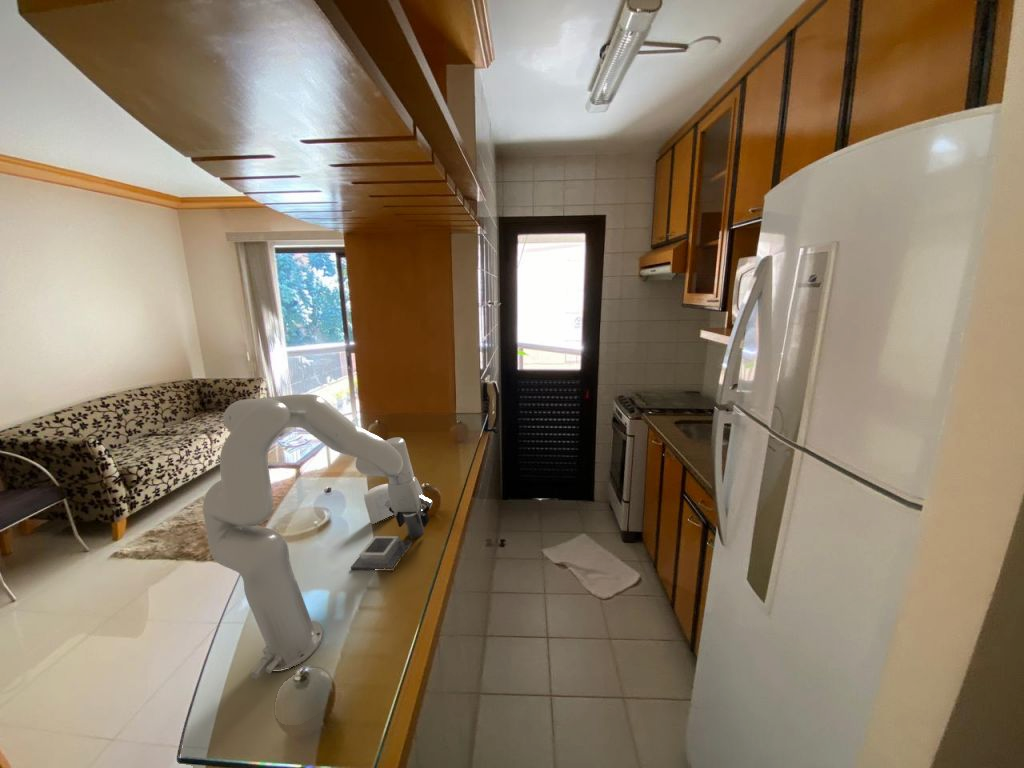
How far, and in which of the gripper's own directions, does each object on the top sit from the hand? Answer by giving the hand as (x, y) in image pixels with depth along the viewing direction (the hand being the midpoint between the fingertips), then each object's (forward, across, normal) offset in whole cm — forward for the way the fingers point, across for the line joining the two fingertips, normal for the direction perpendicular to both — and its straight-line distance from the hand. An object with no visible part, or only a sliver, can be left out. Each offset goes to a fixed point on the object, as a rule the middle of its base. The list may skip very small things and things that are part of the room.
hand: (414, 524), depth 129 cm
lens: (+3, 0, 0) cm, 3 cm away
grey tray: (+3, -6, -11) cm, 13 cm away
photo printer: (+4, -17, +9) cm, 20 cm away
